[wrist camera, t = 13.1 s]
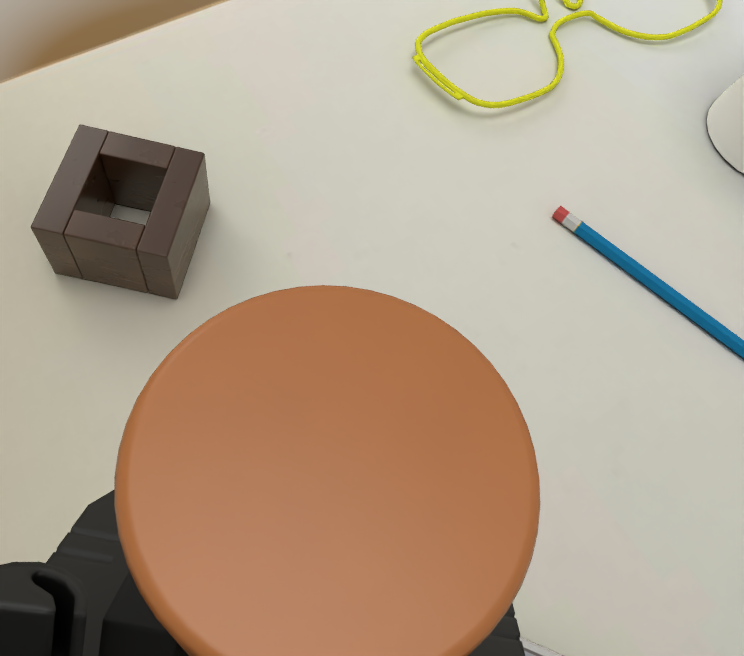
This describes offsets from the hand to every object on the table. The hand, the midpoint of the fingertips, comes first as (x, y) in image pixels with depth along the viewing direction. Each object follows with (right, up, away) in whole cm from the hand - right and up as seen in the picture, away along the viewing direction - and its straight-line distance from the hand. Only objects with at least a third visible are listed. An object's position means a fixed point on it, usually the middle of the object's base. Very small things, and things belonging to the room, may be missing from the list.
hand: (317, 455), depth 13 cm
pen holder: (-11, +7, +22) cm, 25 cm away
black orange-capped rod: (-2, -6, +4) cm, 8 cm away
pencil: (+18, +3, +25) cm, 31 cm away
